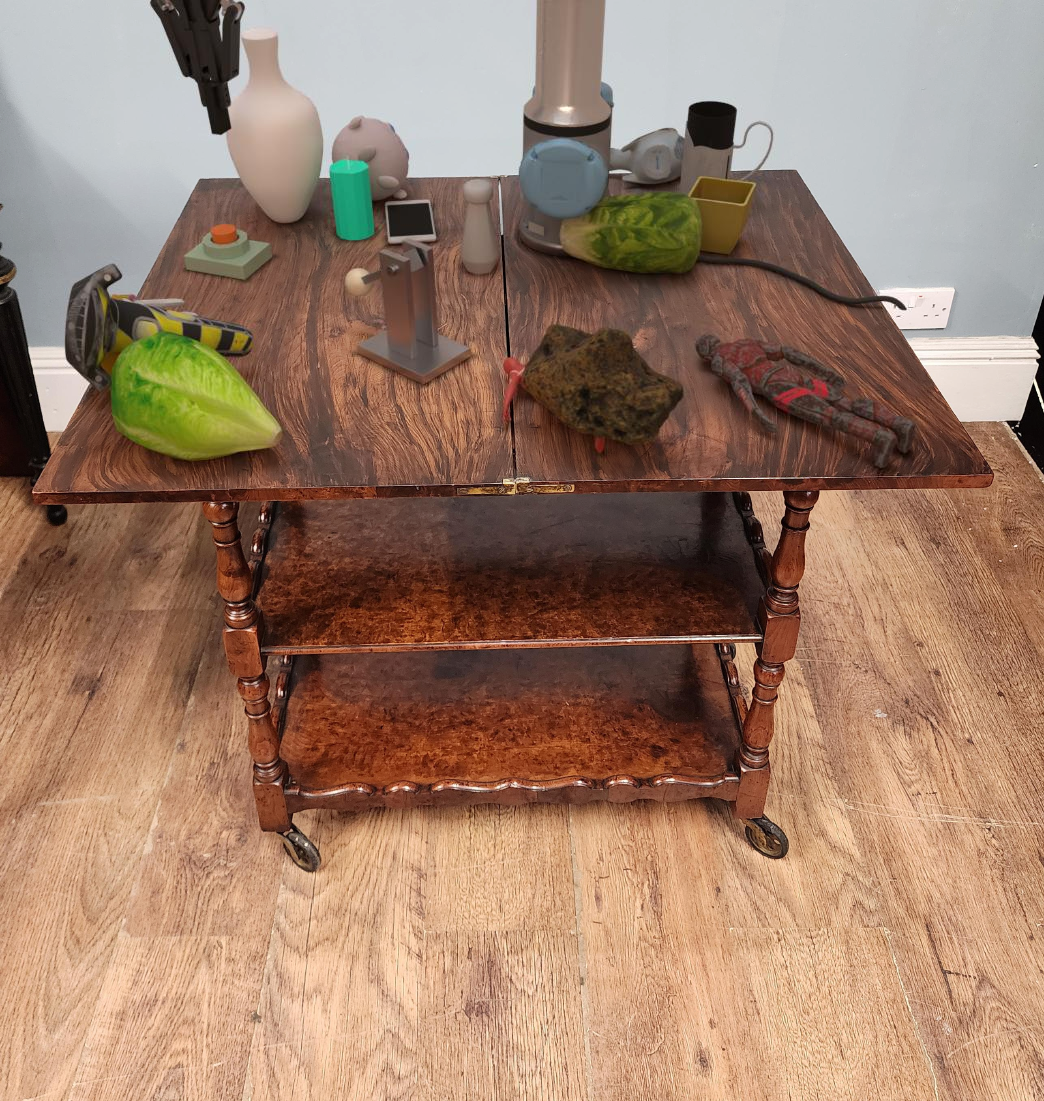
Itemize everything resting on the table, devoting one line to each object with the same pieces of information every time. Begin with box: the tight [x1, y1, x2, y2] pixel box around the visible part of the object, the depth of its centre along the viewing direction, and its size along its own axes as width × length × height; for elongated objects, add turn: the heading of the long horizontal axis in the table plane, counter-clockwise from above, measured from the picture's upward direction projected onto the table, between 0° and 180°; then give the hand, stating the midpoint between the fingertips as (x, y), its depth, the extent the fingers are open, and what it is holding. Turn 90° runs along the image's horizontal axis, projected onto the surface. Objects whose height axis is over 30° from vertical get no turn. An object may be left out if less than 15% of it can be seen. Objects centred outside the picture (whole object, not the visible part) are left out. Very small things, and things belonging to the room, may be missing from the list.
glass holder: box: [678, 100, 774, 195], centre depth 172 cm, size 9×14×15 cm, turn 74°
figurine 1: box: [502, 356, 606, 453], centre depth 131 cm, size 16×4×20 cm
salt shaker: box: [459, 178, 500, 276], centre depth 156 cm, size 6×6×13 cm
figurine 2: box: [695, 333, 917, 469], centre depth 131 cm, size 14×5×30 cm
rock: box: [522, 323, 684, 445], centre depth 122 cm, size 13×12×20 cm
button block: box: [183, 228, 273, 281], centre depth 161 cm, size 10×8×4 cm
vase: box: [225, 27, 324, 224], centre depth 164 cm, size 14×14×28 cm
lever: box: [344, 248, 424, 297], centre depth 138 cm, size 14×4×4 cm
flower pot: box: [688, 176, 757, 255], centre depth 163 cm, size 9×9×9 cm
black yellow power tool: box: [64, 263, 255, 393], centre depth 125 cm, size 14×26×10 cm
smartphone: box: [384, 199, 438, 245], centre depth 172 cm, size 8×1×15 cm
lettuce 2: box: [559, 190, 702, 276], centre depth 157 cm, size 12×21×11 cm, turn 86°
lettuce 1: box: [109, 330, 283, 462], centre depth 123 cm, size 14×20×12 cm
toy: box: [331, 115, 410, 202], centre depth 176 cm, size 14×12×15 cm
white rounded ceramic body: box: [609, 127, 685, 185], centre depth 183 cm, size 9×19×10 cm
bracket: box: [356, 238, 472, 386], centre depth 137 cm, size 12×9×15 cm
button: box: [210, 223, 238, 245], centre depth 159 cm, size 4×4×2 cm
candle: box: [328, 156, 375, 241], centre depth 166 cm, size 6×6×12 cm
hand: (221, 131), depth 150 cm, fingers closed
